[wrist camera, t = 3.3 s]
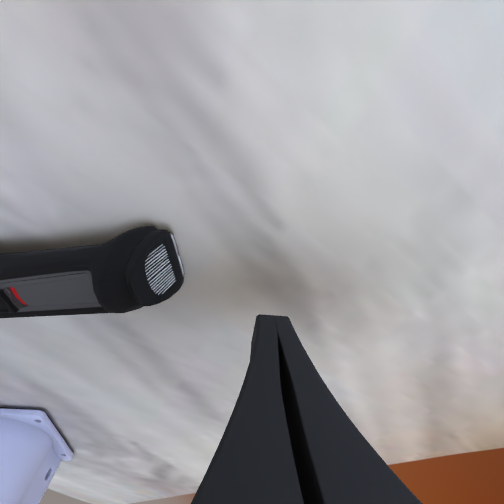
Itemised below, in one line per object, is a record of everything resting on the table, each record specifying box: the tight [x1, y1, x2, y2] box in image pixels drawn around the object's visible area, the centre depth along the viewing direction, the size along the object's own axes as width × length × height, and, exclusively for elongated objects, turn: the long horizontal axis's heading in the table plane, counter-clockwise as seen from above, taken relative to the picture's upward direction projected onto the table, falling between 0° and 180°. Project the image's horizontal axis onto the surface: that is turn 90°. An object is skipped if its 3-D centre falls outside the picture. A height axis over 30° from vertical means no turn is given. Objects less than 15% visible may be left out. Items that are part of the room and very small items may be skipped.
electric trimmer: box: [0, 226, 185, 318], centre depth 11 cm, size 4×16×3 cm, turn 95°
